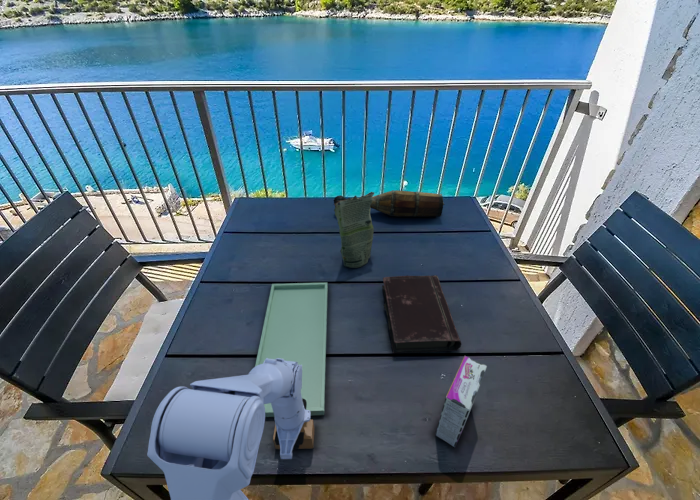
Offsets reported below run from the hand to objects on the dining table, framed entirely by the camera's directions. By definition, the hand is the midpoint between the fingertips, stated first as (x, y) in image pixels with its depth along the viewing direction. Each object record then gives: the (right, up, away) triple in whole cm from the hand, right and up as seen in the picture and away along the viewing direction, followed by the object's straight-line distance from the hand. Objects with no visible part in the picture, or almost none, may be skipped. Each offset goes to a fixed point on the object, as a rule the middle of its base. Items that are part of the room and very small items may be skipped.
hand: (294, 436), depth 75 cm
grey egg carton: (+35, +1, +4) cm, 35 cm away
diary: (+31, +20, +28) cm, 46 cm away
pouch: (+14, +37, +49) cm, 63 cm away
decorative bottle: (+27, +55, +72) cm, 94 cm away
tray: (-4, +15, +21) cm, 26 cm away
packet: (0, -1, +1) cm, 1 cm away
